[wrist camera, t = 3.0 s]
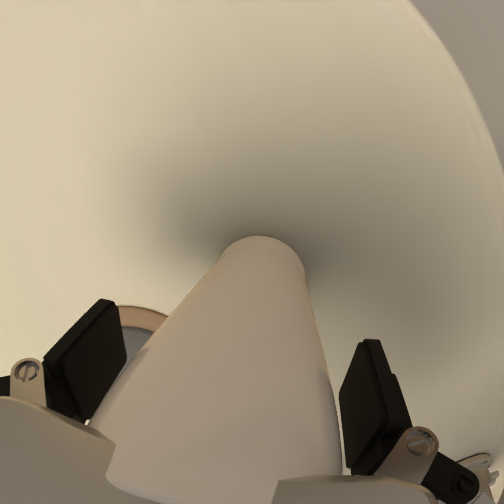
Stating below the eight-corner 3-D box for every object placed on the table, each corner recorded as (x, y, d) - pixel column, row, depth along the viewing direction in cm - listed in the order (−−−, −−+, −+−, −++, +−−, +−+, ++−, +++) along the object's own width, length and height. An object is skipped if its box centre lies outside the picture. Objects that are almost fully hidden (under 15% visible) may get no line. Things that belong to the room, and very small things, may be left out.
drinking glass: (224, 203, 17) (20, 418, 3) (335, 244, 17) (415, 522, 3) (194, 300, 19) (78, 510, 5) (291, 334, 19) (273, 568, 5)
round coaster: (239, 326, 20) (236, 337, 18) (229, 438, 25) (227, 447, 23) (70, 290, 21) (61, 297, 20) (101, 402, 26) (97, 410, 25)
